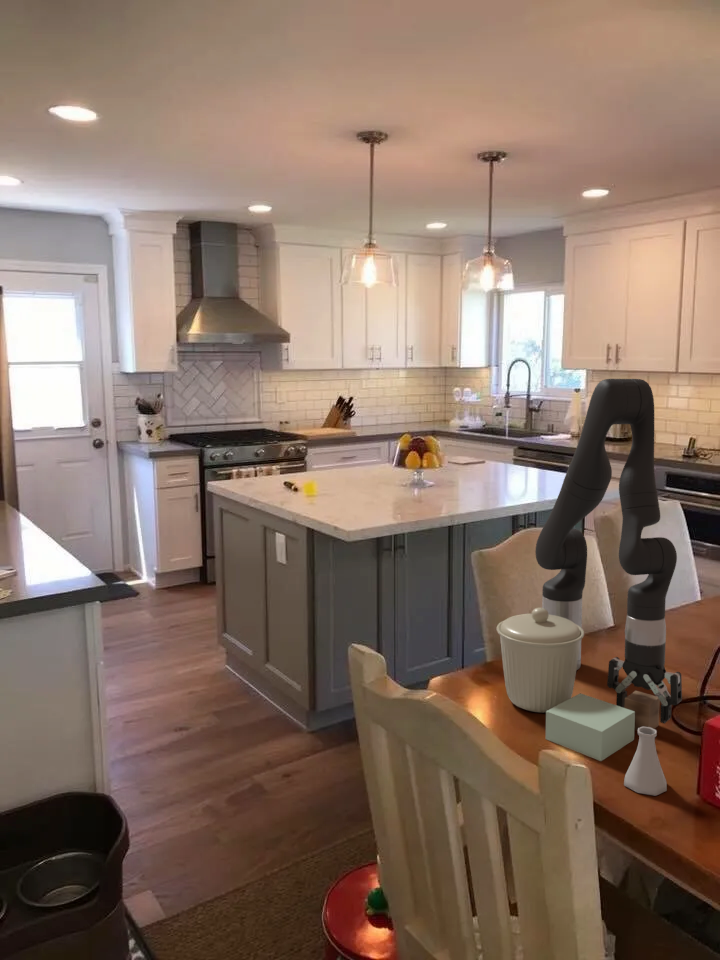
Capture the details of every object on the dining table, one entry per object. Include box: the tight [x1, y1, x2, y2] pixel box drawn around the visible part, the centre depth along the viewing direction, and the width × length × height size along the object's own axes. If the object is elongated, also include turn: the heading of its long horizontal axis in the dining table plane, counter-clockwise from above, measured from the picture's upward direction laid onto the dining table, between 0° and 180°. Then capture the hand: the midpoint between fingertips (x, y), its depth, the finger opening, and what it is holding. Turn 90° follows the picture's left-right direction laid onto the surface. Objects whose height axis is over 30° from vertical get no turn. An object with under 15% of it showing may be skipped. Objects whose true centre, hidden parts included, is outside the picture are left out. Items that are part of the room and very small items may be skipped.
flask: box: [623, 726, 668, 797], centre depth 134 cm, size 7×7×10 cm
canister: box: [496, 607, 585, 714], centre depth 166 cm, size 18×18×21 cm
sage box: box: [545, 692, 635, 762], centre depth 151 cm, size 12×12×6 cm
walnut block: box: [624, 690, 661, 732], centre depth 156 cm, size 5×5×6 cm
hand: (642, 715), depth 156 cm, fingers open, 8 cm apart
